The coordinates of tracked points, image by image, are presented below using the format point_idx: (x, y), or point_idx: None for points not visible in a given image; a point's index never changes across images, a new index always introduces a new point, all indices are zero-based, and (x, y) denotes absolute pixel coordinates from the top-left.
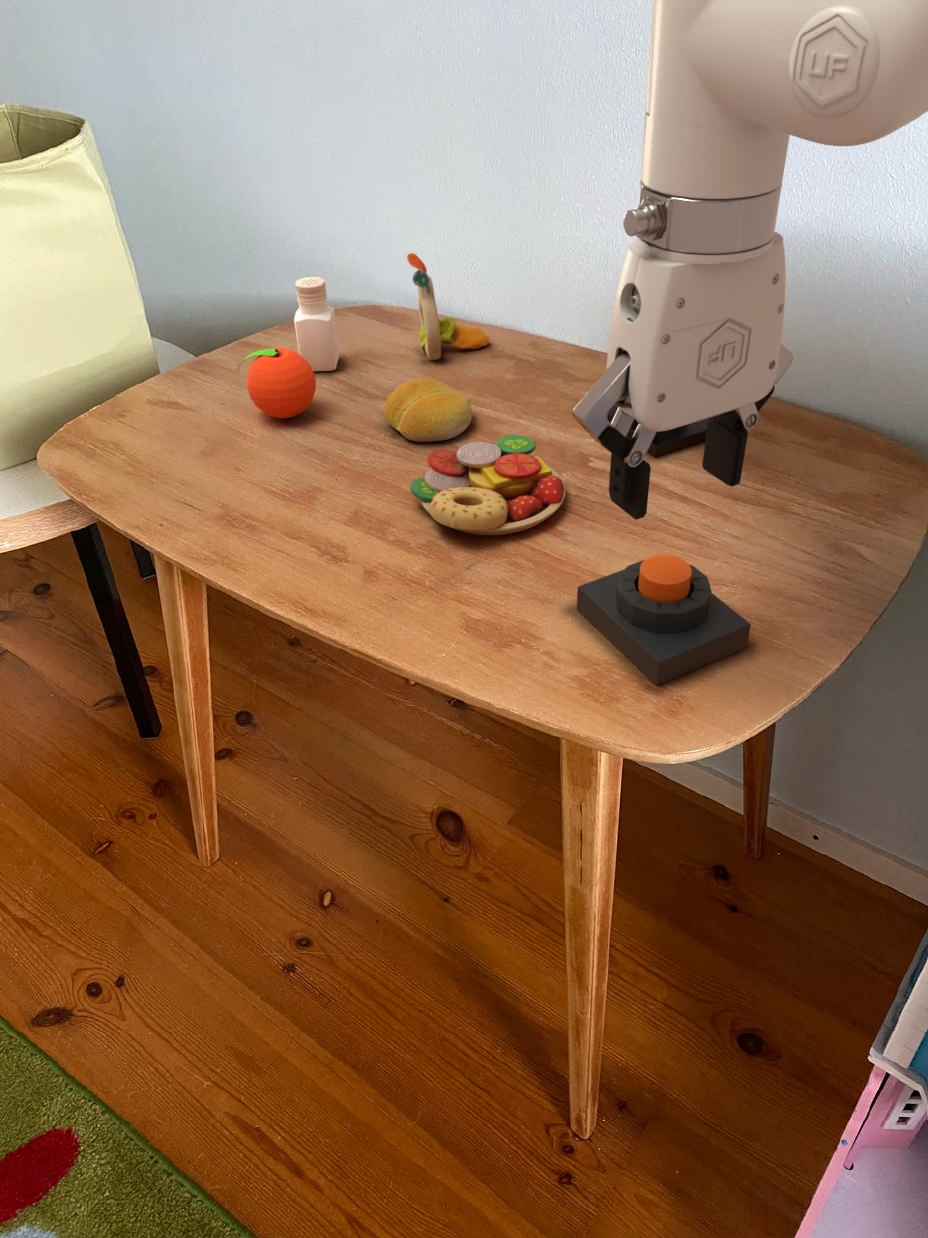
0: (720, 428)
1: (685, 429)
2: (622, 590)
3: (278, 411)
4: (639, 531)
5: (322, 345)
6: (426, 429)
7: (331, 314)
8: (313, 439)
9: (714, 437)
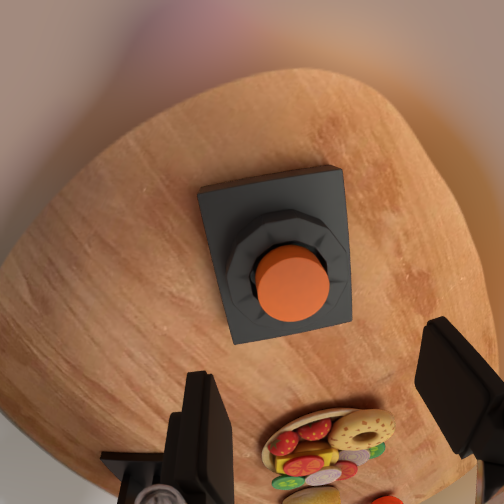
0: (225, 497)
1: (130, 466)
2: (343, 284)
3: (393, 498)
4: (220, 389)
5: None
6: (328, 494)
7: None
8: (382, 485)
9: (227, 478)
